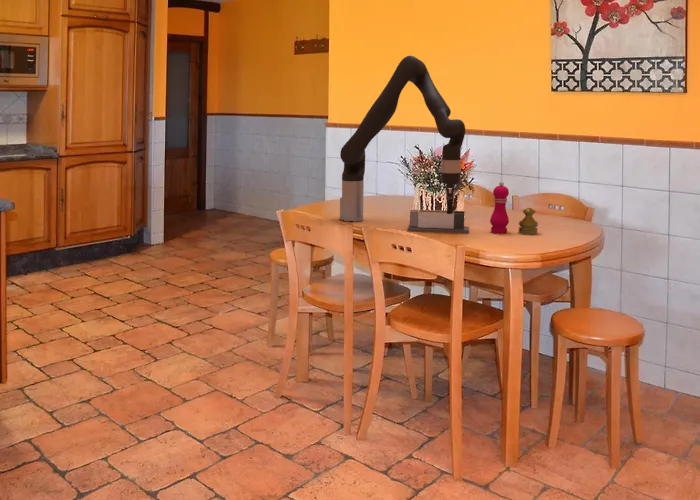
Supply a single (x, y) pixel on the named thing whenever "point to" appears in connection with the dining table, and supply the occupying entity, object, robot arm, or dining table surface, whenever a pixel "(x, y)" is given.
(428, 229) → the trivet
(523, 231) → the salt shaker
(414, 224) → the block
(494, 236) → the dining table surface
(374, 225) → the dining table surface
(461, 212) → the jaw
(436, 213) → the block
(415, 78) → the robot arm
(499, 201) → the pepper mill
